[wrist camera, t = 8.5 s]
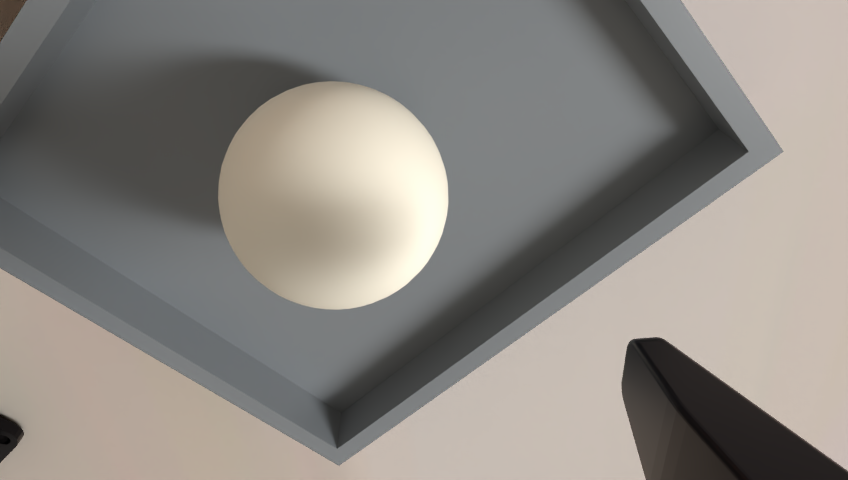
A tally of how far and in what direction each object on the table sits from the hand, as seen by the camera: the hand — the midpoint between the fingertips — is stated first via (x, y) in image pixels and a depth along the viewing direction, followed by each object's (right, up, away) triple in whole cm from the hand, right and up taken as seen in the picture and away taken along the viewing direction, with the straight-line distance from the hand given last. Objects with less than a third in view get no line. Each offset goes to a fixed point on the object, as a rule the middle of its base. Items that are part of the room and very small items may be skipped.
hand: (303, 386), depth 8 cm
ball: (0, +3, +5) cm, 6 cm away
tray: (0, +5, +8) cm, 9 cm away
